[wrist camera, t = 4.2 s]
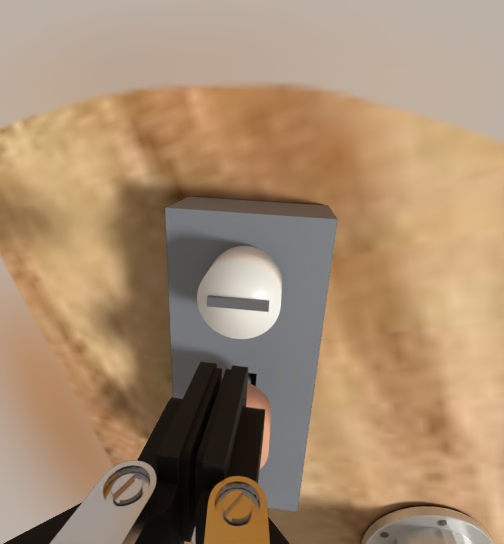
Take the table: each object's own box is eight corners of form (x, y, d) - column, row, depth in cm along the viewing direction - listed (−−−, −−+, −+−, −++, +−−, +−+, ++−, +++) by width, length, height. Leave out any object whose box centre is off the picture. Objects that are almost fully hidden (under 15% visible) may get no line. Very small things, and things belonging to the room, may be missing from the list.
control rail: (296, 458, 32) (297, 512, 27) (193, 446, 33) (177, 495, 28) (327, 205, 24) (337, 219, 19) (189, 196, 24) (165, 207, 20)
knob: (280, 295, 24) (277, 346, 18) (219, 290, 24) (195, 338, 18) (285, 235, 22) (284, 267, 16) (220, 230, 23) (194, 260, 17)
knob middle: (271, 404, 25) (265, 487, 19) (212, 398, 25) (188, 477, 19) (275, 354, 23) (270, 426, 17) (213, 347, 24) (187, 416, 18)
